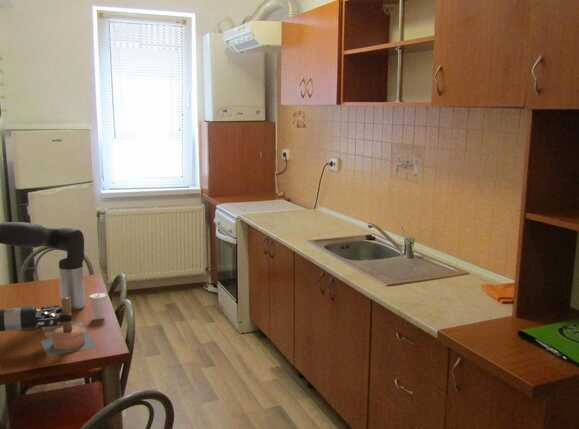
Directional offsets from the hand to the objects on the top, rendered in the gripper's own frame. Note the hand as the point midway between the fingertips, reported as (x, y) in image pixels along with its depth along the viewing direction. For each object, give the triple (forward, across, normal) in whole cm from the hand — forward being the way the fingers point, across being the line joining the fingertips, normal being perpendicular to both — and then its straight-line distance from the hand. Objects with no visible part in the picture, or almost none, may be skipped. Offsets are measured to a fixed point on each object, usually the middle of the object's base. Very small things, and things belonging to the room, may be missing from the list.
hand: (72, 313), depth 193 cm
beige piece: (-15, +25, +12) cm, 31 cm away
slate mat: (-2, 0, +11) cm, 12 cm away
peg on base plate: (-2, 0, +11) cm, 11 cm away
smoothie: (+8, +24, +12) cm, 28 cm away
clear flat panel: (-4, +15, +11) cm, 19 cm away
